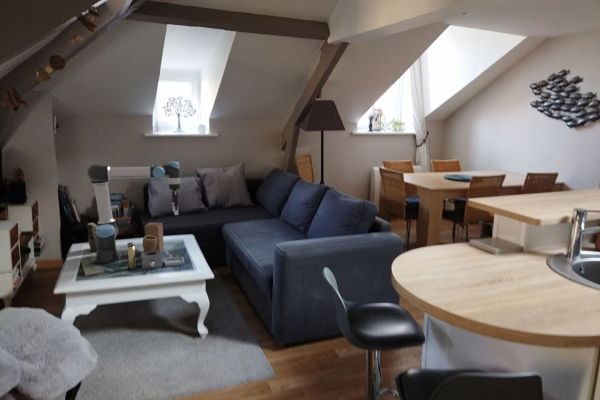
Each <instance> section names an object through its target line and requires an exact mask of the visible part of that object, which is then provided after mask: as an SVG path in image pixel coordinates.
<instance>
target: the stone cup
mask: <svg viewBox="0 0 600 400" xmlns="http://www.w3.org/2000/svg"><path fill="white" fill-rule="evenodd" d="M156 245H157V237H155V236H152V235H147V236H145V235H144V237H143V238H142V248H143V251H142V252H148V251H155V248H156ZM139 258H140V259H141V260H142V253H141V254H139Z"/></svg>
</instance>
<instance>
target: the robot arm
mask: <svg viewBox="0 0 600 400" xmlns="http://www.w3.org/2000/svg"><path fill="white" fill-rule="evenodd" d="M86 172H87V173H86V175H87V177H88V179H89V180H90V184H91V185H92V186H93V188H94V194H95V199H96V205H97V207H96V208H97V212H98V213H97V214H98V219H99V220H98V222H97V226H98V227H97V228H96V232H95V233H96V241H97V252H96V254H95V257H94V262H95V263H96V264H103V265H104V264H111V263H115V261H116V262H118V261H120V254H119V252H118V249H117V245H116V241H117V240H116V237H117V235H118V234H119V227H118V225H117V221H116V218H114V217H113V212H112V211H113V210H112V204H111V198H110V196H111V195H110V191H109V184H110V182H111V180H112V179H113V180H115V179H116V180H117V179H118V180H119V179H146V178H147V179H148V178H149V179H155V178H156V179H162V178H163V177H164V176H168V188H169V190H171V202H172V205H171V206H172V212H173V213H174V216H178V215H179V192H178V191H177V190H181V184H180V183H181V178H180V172H181V171H180V163H179V161H168V162H167V164H151V165H150V166H116V167H115V166H114V167H112V166H109V165H106V164H105V163H104V162H94V163H92V164H91V165H89V166H88V168H87V171H86Z"/></svg>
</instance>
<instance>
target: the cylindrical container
mask: <svg viewBox="0 0 600 400" xmlns="http://www.w3.org/2000/svg"><path fill="white" fill-rule="evenodd" d="M126 246H127V257H128V258H127V259H128V268H129V269H136V267H137V266H136V252H135V251H136V250H135V248H136V247H135V242H128V243H127V245H126Z"/></svg>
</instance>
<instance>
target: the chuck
mask: <svg viewBox="0 0 600 400" xmlns="http://www.w3.org/2000/svg"><path fill="white" fill-rule="evenodd" d="M141 254H142V259H141V267H142V270H149V269H158V268H163V260H162V259H163V257H162V251H161V250H159V251H148V252H143V251H141Z"/></svg>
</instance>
